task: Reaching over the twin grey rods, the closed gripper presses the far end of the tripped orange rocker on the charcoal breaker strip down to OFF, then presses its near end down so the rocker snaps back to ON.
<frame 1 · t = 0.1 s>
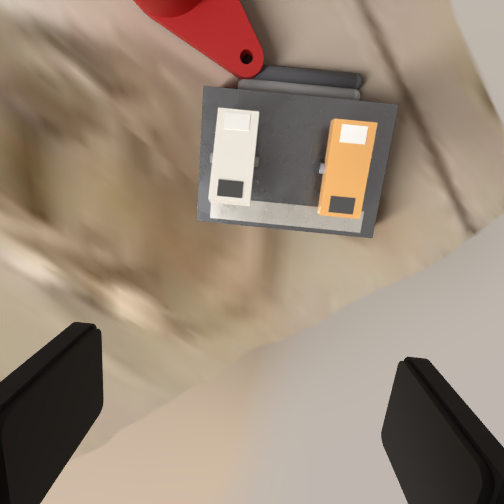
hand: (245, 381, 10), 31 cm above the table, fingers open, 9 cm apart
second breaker: (234, 158, 31), point 7 cm above the table, hinge at -18.0°
lever: (201, 8, 34), on the table, touching twin grey rods
twin grey rods: (299, 78, 36), on the table
breaker strip: (289, 165, 38), on the table
breaker lever: (345, 170, 31), point 7 cm above the table, hinge at 0.0°
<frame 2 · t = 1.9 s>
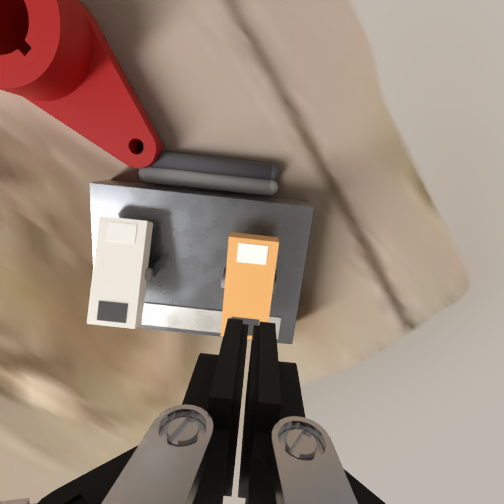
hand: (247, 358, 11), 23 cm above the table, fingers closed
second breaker: (121, 271, 27), point 7 cm above the table, hinge at -18.0°
lever: (90, 88, 30), on the table, touching twin grey rods
twin grey rods: (210, 164, 31), on the table
breaker strip: (204, 256, 34), on the table
breaker lever: (248, 287, 27), point 7 cm above the table, hinge at 0.0°
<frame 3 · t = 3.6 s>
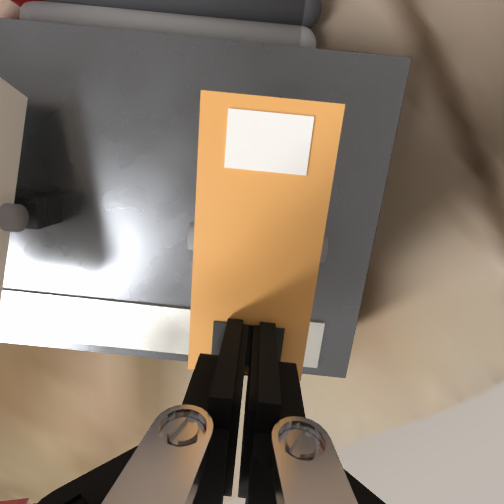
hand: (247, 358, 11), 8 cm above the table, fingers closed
twin grey rods: (174, 4, 15), on the table
breaker strip: (169, 205, 18), on the table
breaker lever: (257, 245, 11), point 7 cm above the table, hinge at 0.1°, touching gripper
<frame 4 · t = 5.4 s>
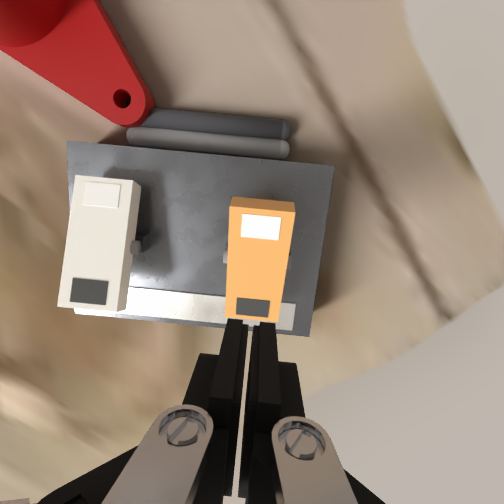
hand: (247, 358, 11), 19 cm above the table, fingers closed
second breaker: (102, 243, 22), point 7 cm above the table, hinge at -18.0°
lever: (69, 37, 26), on the table, touching twin grey rods
twin grey rods: (210, 124, 27), on the table
breaker strip: (204, 235, 29), on the table
breaker lever: (257, 263, 22), point 7 cm above the table, hinge at 17.0°
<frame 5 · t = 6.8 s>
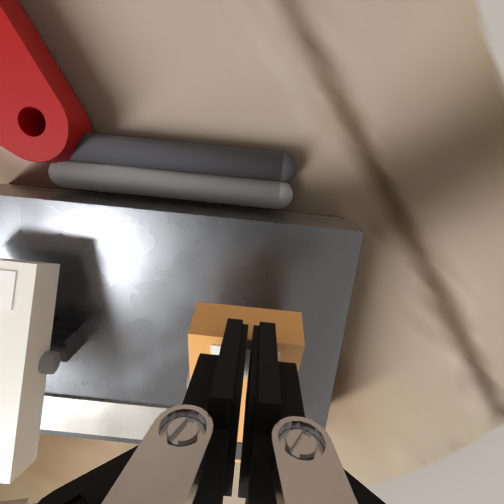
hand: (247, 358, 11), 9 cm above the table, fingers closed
twin grey rods: (176, 156, 18), on the table
breaker strip: (171, 307, 21), on the table
breaker lever: (240, 392, 14), point 7 cm above the table, hinge at 17.7°, touching gripper
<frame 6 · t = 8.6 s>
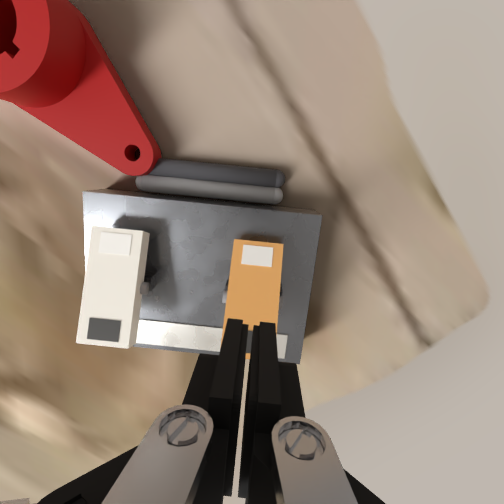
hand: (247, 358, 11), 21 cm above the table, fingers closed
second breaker: (115, 285, 25), point 7 cm above the table, hinge at -18.0°
lever: (84, 95, 28), on the table, touching twin grey rods
twin grey rods: (211, 172, 30), on the table
breaker strip: (205, 269, 32), on the table
breaker lever: (252, 298, 25), point 7 cm above the table, hinge at -31.2°, touching breaker strip
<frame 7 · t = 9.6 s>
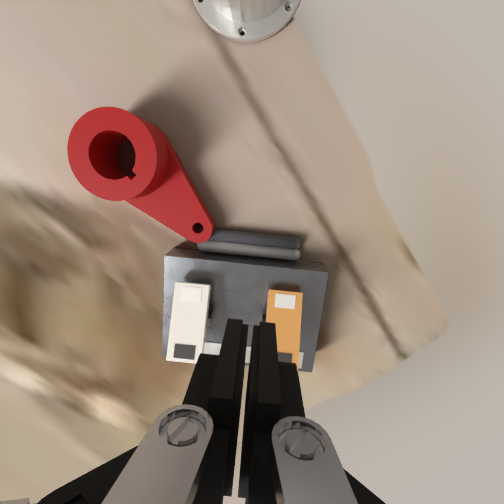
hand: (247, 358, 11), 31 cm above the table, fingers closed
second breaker: (189, 321, 37), point 7 cm above the table, hinge at -18.0°
lever: (161, 184, 40), on the table, touching twin grey rods
twin grey rods: (249, 237, 42), on the table
breaker strip: (243, 303, 44), on the table
breaker lever: (282, 330, 37), point 7 cm above the table, hinge at -30.5°
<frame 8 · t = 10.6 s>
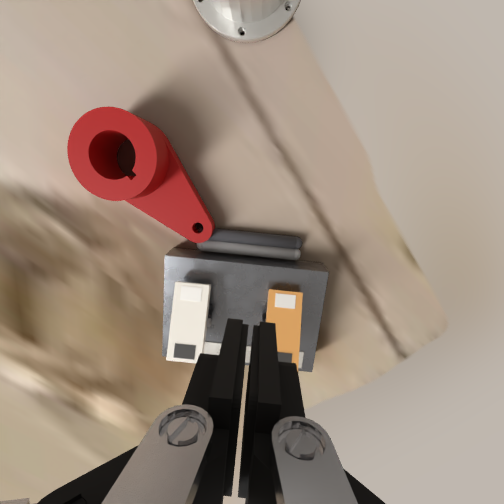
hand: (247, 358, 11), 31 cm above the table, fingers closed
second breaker: (189, 321, 38), point 7 cm above the table, hinge at -18.0°
lever: (161, 184, 40), on the table, touching twin grey rods
twin grey rods: (249, 236, 42), on the table
breaker strip: (243, 303, 44), on the table
breaker lever: (282, 329, 37), point 7 cm above the table, hinge at -30.3°
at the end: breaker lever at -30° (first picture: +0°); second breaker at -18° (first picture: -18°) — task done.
